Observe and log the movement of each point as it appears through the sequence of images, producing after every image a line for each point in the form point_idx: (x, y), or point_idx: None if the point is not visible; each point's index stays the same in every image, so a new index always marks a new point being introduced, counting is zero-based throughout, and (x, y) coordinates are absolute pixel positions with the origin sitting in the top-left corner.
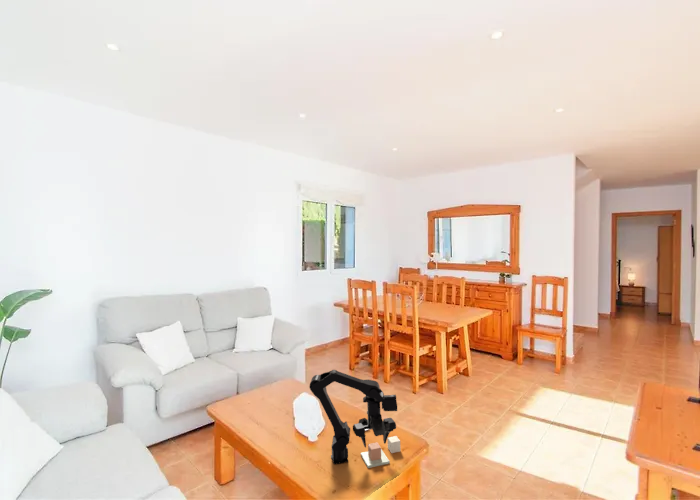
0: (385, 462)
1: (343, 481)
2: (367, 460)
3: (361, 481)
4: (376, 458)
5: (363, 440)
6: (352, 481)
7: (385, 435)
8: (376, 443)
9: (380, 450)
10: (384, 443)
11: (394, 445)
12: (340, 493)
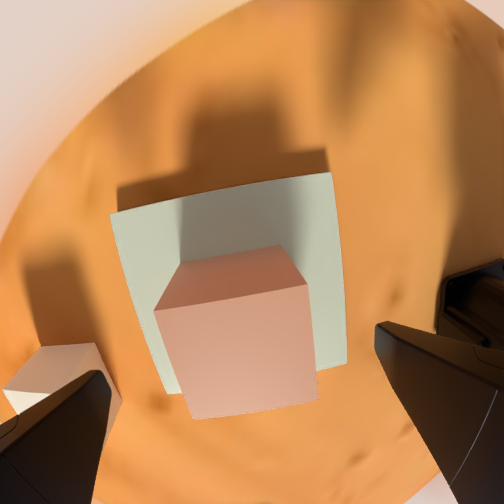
0: (148, 204)
1: (480, 86)
2: (319, 255)
3: (388, 37)
4: (229, 257)
5: (491, 352)
6: (440, 62)
7: (31, 442)
8: (207, 402)
9: (169, 295)
10: (100, 373)
11: (49, 374)
12: (479, 14)
